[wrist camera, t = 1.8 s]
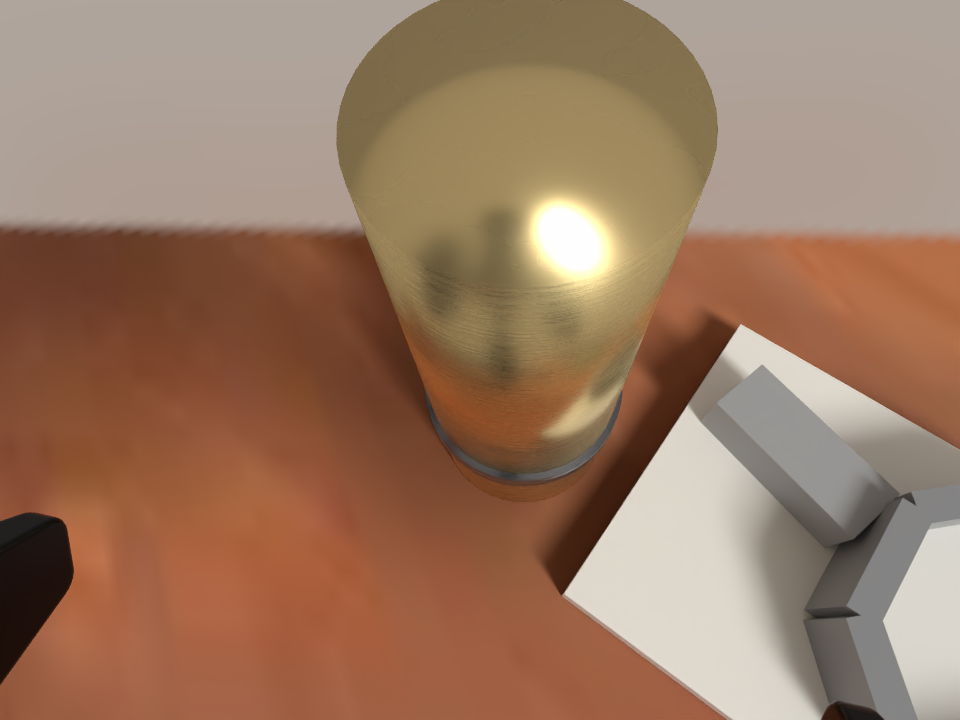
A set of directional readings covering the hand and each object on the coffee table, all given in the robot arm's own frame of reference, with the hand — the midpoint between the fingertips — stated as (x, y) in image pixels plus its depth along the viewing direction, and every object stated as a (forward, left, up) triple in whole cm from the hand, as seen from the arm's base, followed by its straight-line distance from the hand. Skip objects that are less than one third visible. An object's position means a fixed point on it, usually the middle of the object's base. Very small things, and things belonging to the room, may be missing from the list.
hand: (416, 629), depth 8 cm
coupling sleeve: (+4, +5, -13) cm, 14 cm away
